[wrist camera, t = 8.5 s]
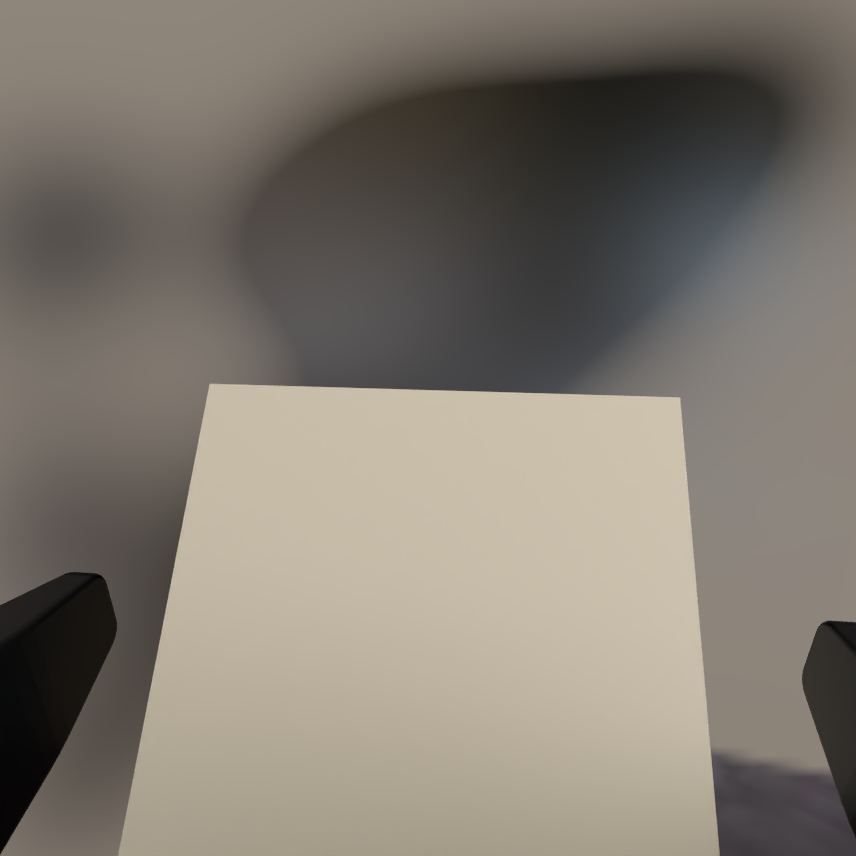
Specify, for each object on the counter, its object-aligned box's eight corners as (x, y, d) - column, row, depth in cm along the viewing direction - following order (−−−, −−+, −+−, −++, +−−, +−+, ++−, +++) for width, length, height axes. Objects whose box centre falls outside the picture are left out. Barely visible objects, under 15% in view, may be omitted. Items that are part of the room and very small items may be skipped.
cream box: (553, 742, 15) (732, 935, 5) (347, 727, 16) (108, 877, 5) (551, 553, 17) (683, 393, 6) (364, 544, 17) (205, 379, 7)
